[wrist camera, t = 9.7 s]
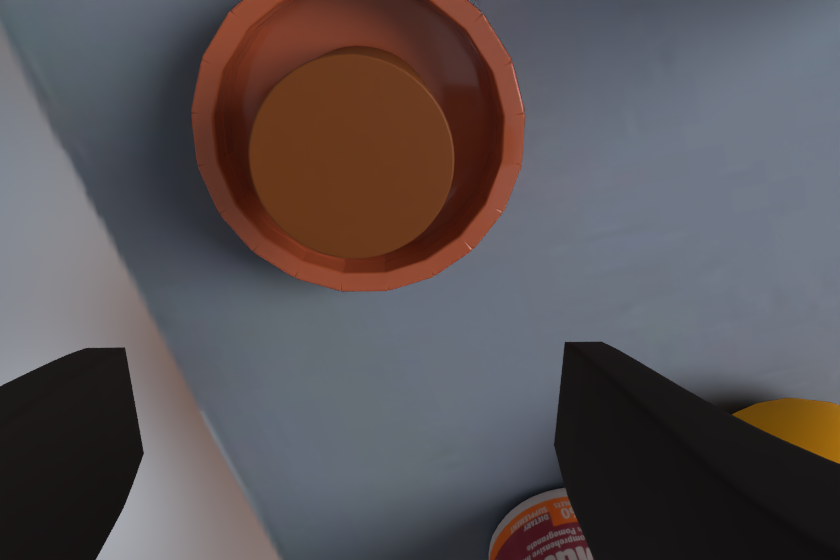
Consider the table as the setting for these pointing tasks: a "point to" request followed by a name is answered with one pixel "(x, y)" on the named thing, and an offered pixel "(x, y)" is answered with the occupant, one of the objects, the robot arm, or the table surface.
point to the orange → (799, 423)
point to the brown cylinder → (351, 153)
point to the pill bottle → (540, 531)
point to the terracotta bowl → (436, 65)
